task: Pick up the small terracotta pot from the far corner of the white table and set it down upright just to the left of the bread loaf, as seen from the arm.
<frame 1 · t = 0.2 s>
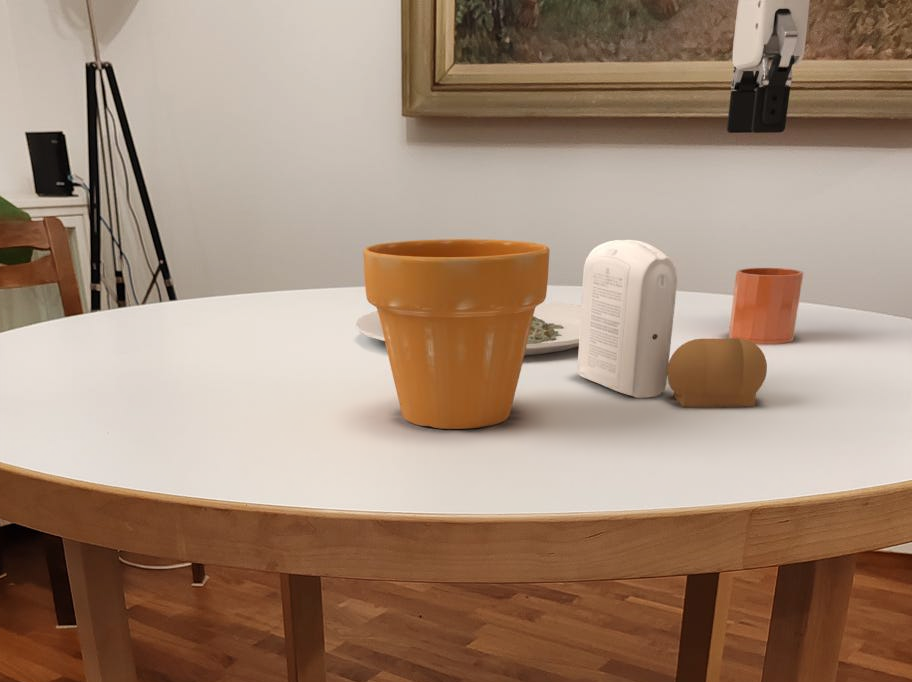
hand: (754, 132, 103), 20 cm above the table, tool pointing down, fingers open, 9 cm apart
pot: (760, 338, 109), on the table
bread loaf: (712, 401, 84), on the table
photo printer: (619, 388, 89), on the table
plated food: (488, 338, 112), on the table
flower pot: (456, 418, 81), on the table
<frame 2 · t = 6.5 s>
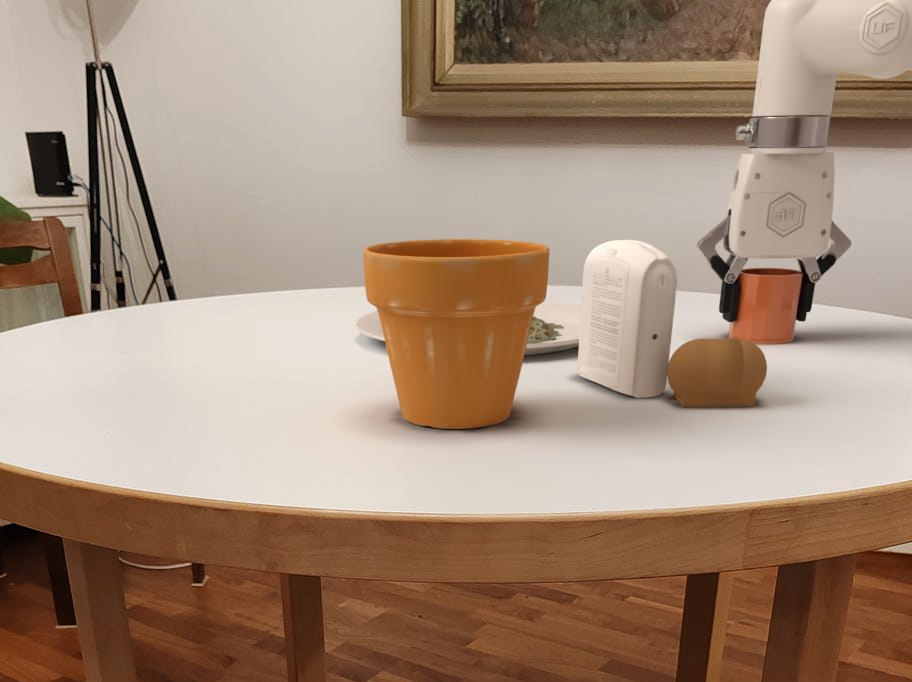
hand: (763, 318, 108), 2 cm above the table, tool pointing down, fingers closed on pot, 6 cm apart
pot: (760, 338, 109), on the table, touching gripper
everything else where it was.
when the fingers open (2 cm above the table, at t = 16.5 s): pot stays where it is, on the table.
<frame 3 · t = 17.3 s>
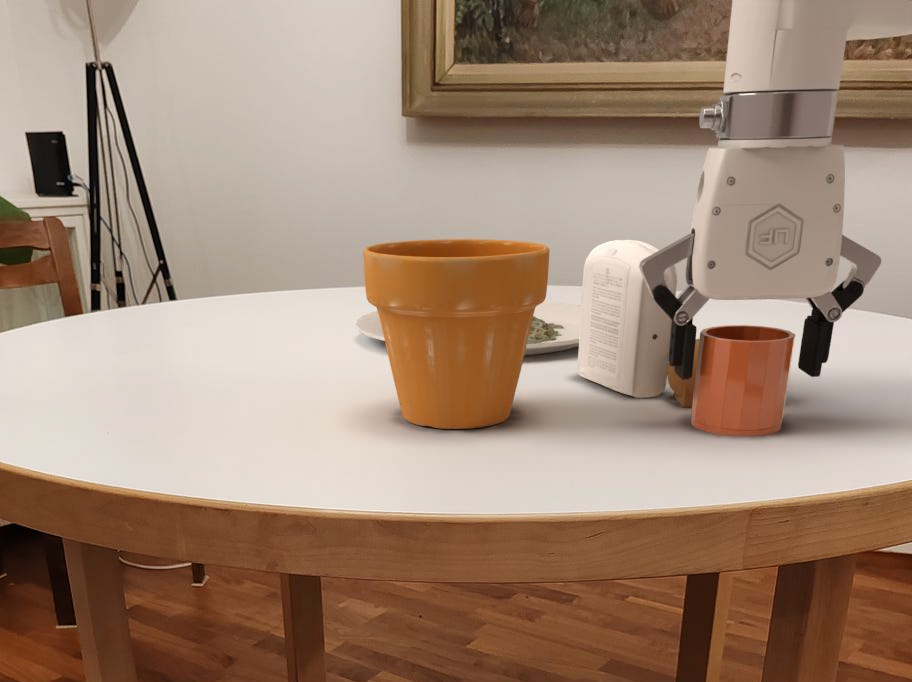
hand: (745, 374, 76), 4 cm above the table, tool pointing down, fingers open, 9 cm apart
pot: (735, 424, 77), on the table
everything else where it was.
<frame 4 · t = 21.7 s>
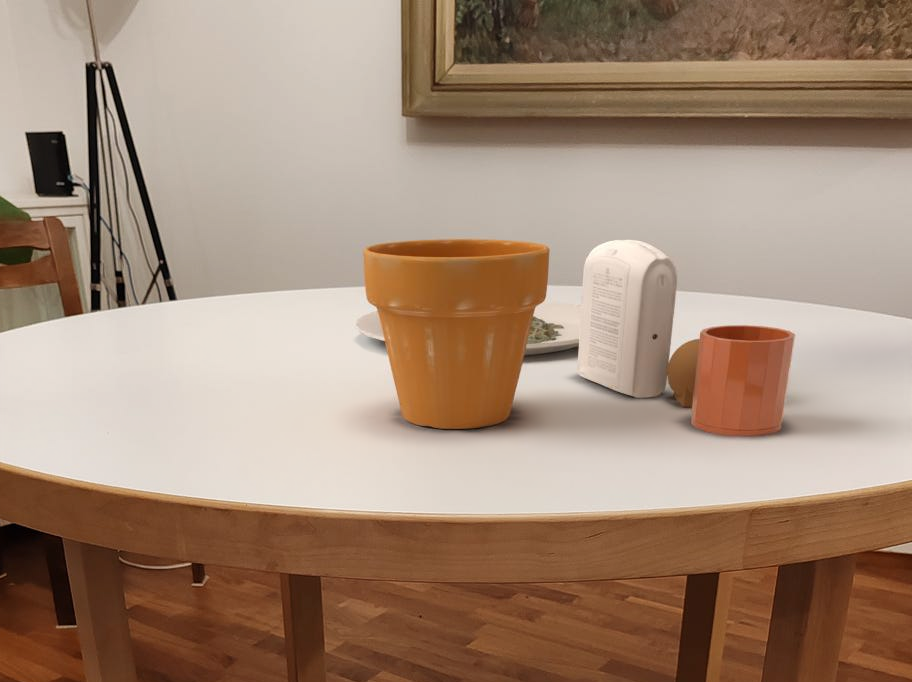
nothing on the table moved.
at the end: pot inside the target area on the table beside the bread loaf (0.8 cm from its centre), on the table; pot tilted 0°; bread loaf moved 0.0 cm from its start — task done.
